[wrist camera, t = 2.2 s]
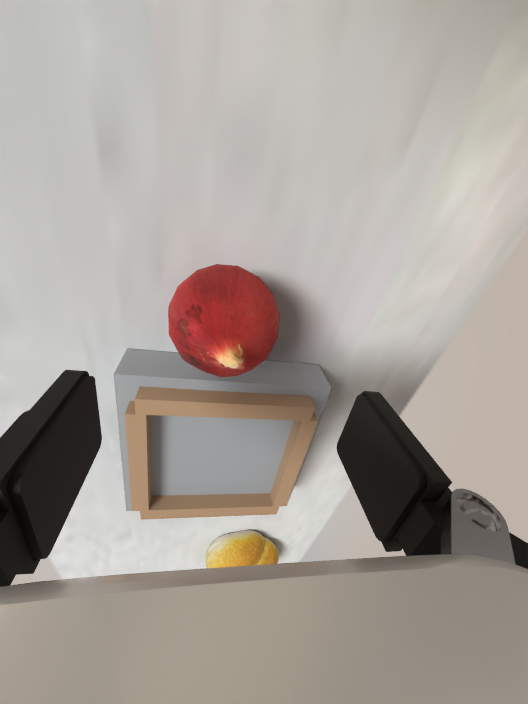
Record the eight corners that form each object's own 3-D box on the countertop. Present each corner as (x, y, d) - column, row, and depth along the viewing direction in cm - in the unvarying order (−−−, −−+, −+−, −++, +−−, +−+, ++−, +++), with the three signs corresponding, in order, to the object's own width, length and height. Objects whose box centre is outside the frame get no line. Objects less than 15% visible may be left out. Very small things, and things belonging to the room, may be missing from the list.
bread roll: (243, 518, 33) (246, 558, 29) (285, 543, 37) (292, 579, 34) (190, 548, 34) (187, 589, 31) (236, 568, 39) (238, 605, 35)
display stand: (127, 348, 19) (107, 386, 16) (318, 364, 22) (337, 399, 19) (135, 478, 26) (122, 525, 22) (280, 477, 29) (289, 518, 25)
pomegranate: (199, 347, 20) (190, 432, 13) (160, 269, 17) (121, 329, 10) (277, 320, 20) (309, 393, 13) (252, 237, 17) (276, 276, 10)
